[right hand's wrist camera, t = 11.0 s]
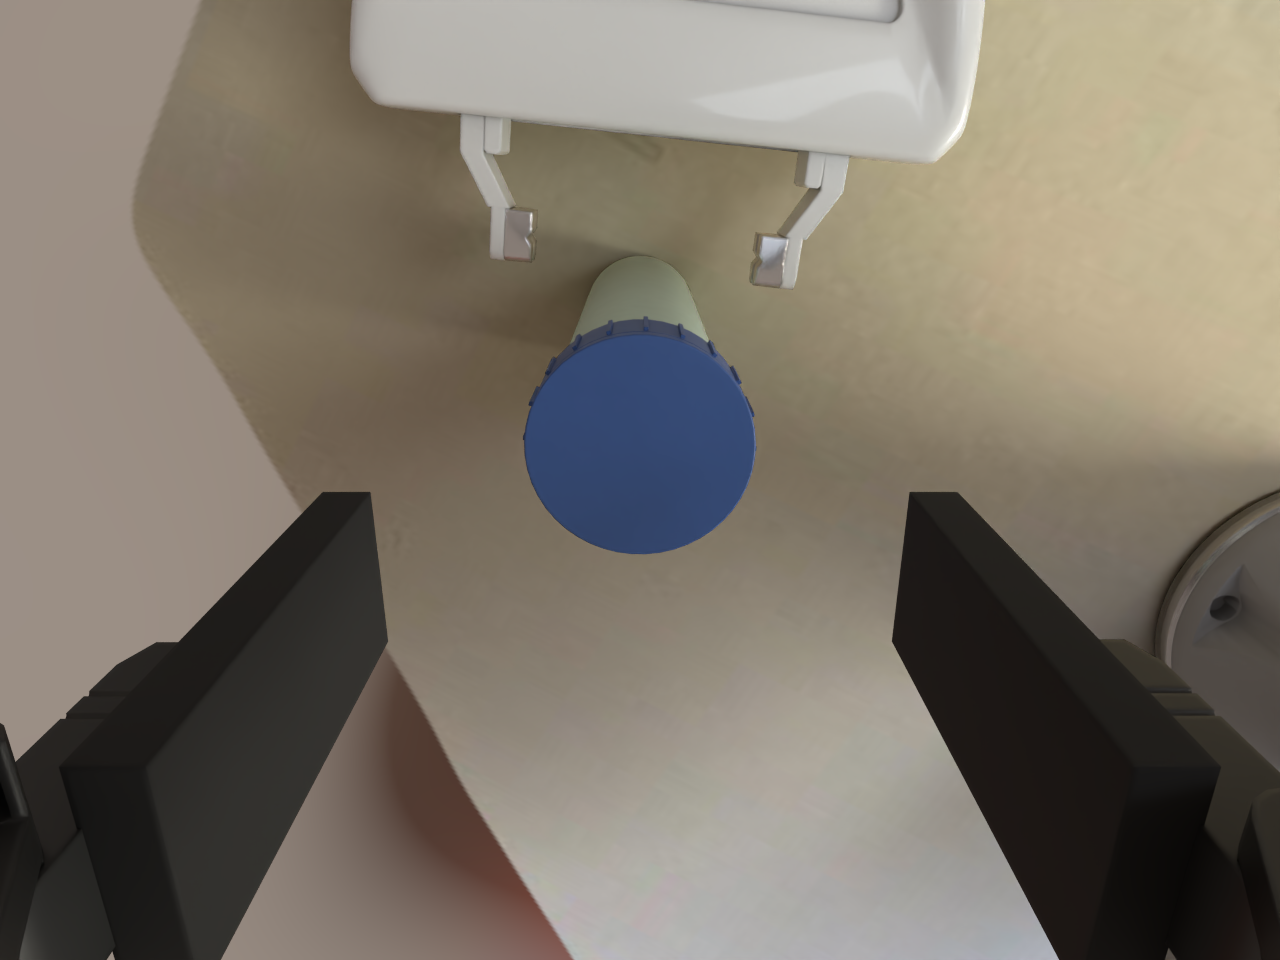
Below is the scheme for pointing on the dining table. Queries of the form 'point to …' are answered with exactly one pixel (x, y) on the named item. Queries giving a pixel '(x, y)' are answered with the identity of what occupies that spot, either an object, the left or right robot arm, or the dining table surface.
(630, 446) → the lid
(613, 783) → the dining table surface
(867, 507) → the dining table surface
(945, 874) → the dining table surface
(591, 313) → the pale green bottle
